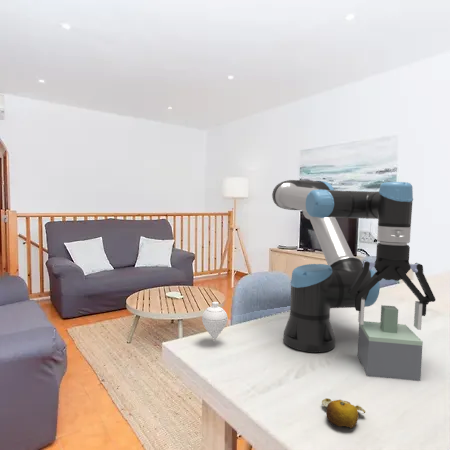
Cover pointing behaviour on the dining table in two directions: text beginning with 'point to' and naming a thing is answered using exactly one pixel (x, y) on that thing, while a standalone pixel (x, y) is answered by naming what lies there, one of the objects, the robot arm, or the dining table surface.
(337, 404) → the fruit
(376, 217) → the robot arm
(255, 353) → the dining table surface
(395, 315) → the lid
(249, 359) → the dining table surface
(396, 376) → the storage box
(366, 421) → the dining table surface
